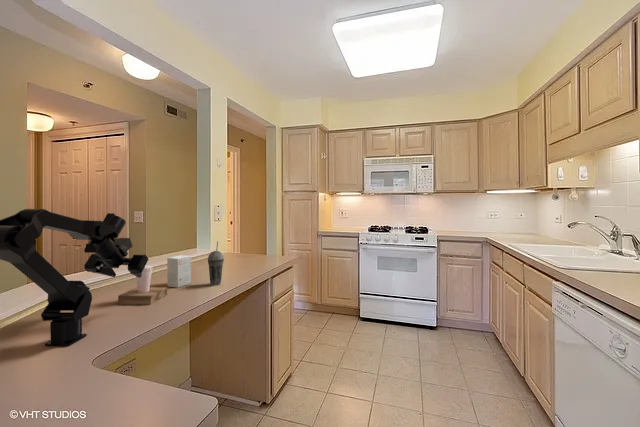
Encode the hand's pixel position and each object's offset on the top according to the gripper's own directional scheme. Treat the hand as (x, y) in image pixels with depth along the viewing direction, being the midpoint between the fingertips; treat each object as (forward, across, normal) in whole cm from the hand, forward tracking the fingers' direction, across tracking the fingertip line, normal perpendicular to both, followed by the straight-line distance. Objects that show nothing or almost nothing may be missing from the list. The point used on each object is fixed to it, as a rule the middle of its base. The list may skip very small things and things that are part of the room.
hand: (127, 276), depth 108 cm
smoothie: (+12, 0, -1) cm, 12 cm away
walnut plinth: (+15, 0, +1) cm, 15 cm away
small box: (+30, -4, -14) cm, 33 cm away
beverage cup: (+31, -20, -15) cm, 40 cm away
